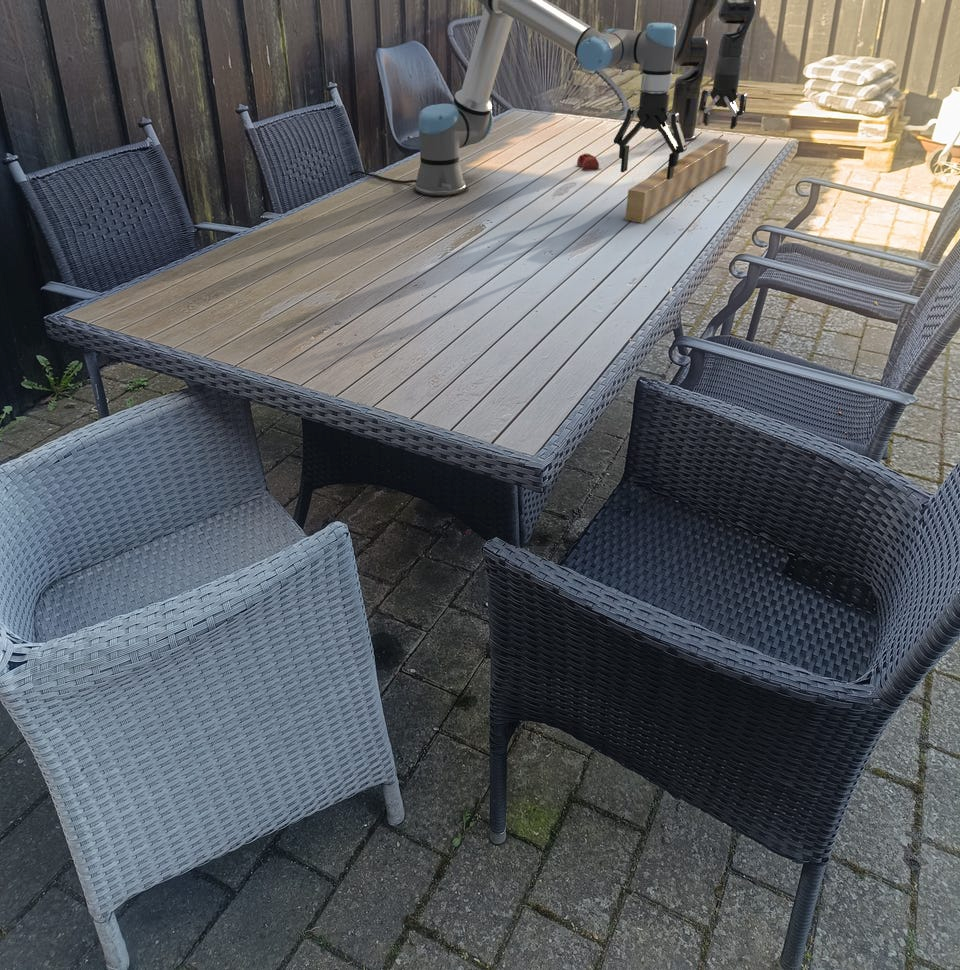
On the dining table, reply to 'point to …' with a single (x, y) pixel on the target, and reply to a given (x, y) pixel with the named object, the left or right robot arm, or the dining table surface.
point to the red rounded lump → (588, 161)
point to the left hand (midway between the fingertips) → (646, 174)
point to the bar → (675, 180)
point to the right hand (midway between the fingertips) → (719, 126)
